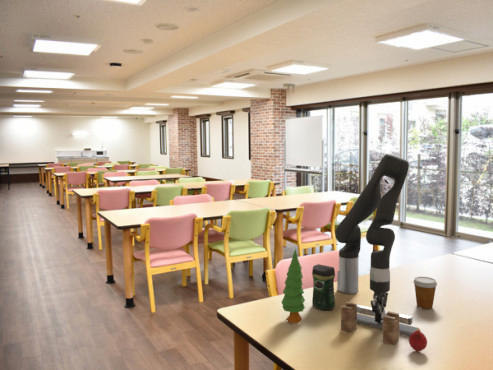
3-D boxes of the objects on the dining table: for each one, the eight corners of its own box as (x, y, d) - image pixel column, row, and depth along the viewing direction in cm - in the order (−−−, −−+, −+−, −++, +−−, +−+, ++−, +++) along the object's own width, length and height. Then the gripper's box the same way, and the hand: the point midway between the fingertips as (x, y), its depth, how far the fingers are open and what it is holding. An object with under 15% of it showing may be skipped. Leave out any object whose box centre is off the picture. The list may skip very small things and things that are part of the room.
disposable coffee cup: (439, 311, 174) (439, 283, 173) (415, 310, 176) (415, 282, 175) (433, 303, 183) (434, 276, 182) (410, 301, 185) (411, 275, 184)
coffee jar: (338, 307, 180) (338, 265, 179) (328, 312, 175) (328, 269, 173) (319, 301, 187) (319, 261, 185) (309, 306, 181) (309, 265, 180)
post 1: (340, 330, 157) (340, 306, 156) (347, 325, 162) (347, 301, 161) (350, 333, 155) (350, 308, 154) (356, 327, 159) (357, 303, 159)
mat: (341, 319, 167) (341, 318, 167) (349, 312, 174) (349, 311, 174) (413, 337, 151) (413, 335, 151) (419, 329, 157) (419, 328, 157)
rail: (349, 310, 168) (349, 304, 168) (351, 308, 170) (351, 302, 170) (410, 325, 154) (410, 318, 153) (412, 322, 156) (412, 316, 156)
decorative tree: (301, 326, 161) (301, 251, 158) (278, 323, 164) (277, 250, 162) (306, 317, 170) (306, 246, 168) (284, 314, 173) (283, 244, 171)
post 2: (382, 342, 147) (382, 316, 147) (387, 335, 152) (388, 310, 151) (393, 345, 145) (394, 318, 144) (399, 338, 150) (399, 313, 149)
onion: (425, 357, 136) (425, 334, 136) (407, 353, 139) (407, 330, 139) (428, 350, 141) (428, 327, 140) (410, 346, 144) (410, 324, 144)
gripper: (376, 271, 168) (375, 312, 170) (363, 281, 157) (363, 324, 159) (395, 275, 164) (394, 317, 165) (383, 284, 153) (382, 329, 154)
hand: (379, 320), depth 162 cm, fingers closed on rail, 2 cm apart
